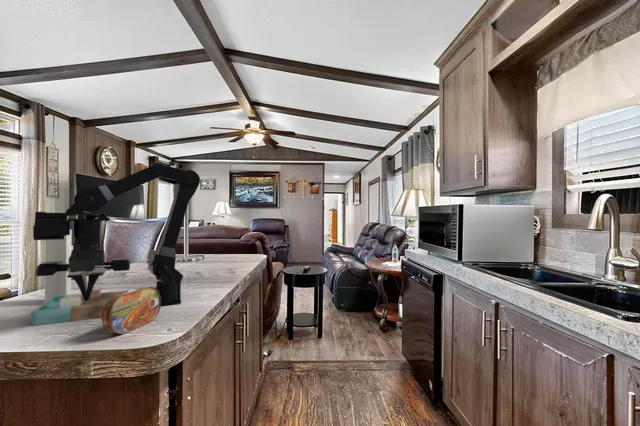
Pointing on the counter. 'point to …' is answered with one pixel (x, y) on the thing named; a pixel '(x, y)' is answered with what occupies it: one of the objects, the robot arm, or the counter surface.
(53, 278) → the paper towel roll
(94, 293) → the terracotta block
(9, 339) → the counter surface
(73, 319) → the walnut plate
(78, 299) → the cream tile
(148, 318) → the tin
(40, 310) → the tray
